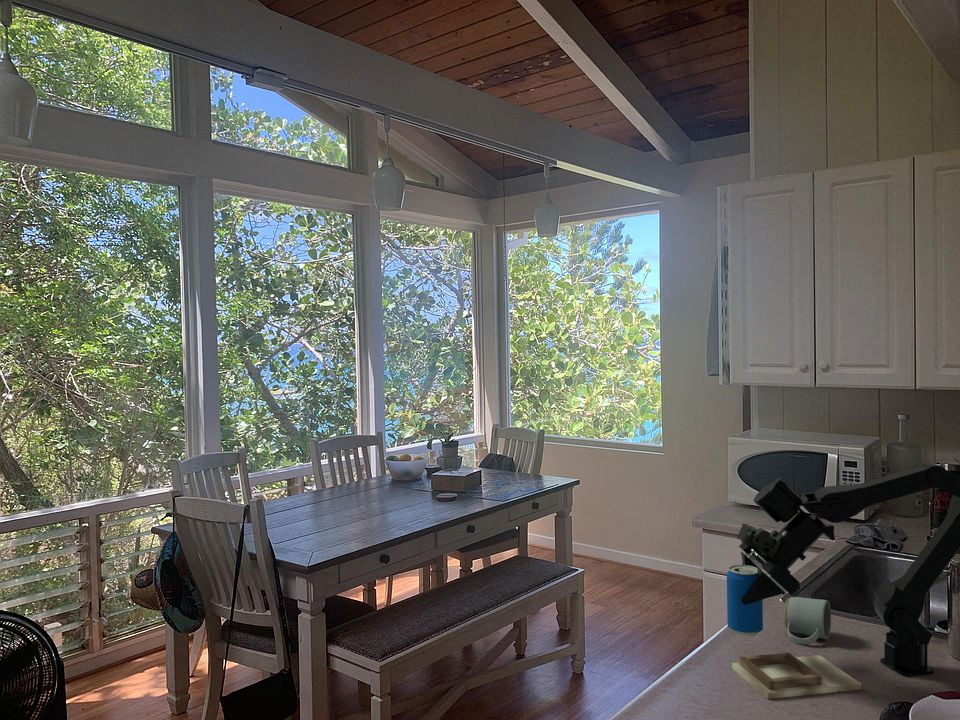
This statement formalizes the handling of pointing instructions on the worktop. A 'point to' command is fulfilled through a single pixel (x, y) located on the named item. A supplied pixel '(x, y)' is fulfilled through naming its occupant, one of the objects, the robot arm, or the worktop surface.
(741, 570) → the beverage can
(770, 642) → the worktop surface
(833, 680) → the can holder
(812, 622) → the ceramic mug
